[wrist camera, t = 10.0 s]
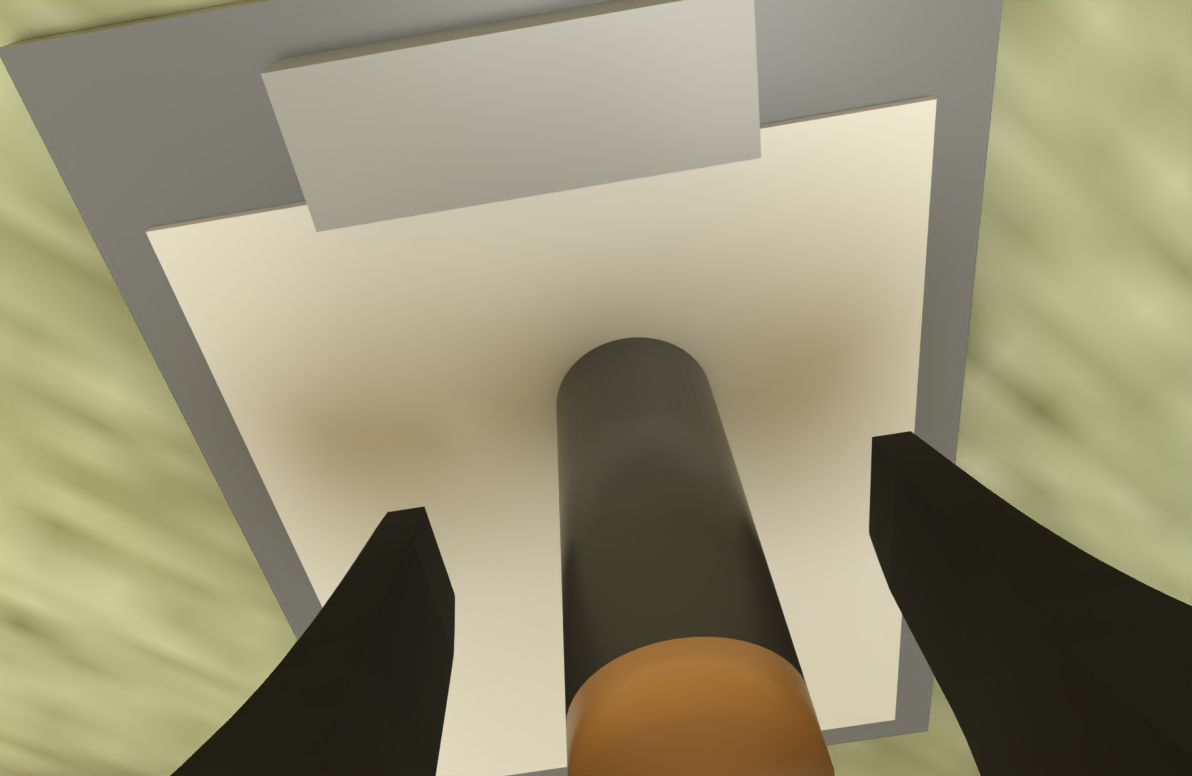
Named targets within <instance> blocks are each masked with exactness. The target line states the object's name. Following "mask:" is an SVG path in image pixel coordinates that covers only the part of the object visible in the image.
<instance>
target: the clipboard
mask: <svg viewBox="0 0 1192 776" xmlns="http://www.w3.org/2000/svg"><path fill="white" fill-rule="evenodd" d="M1002 2H1003V0H249V1H243V2H237V3H232V4H226V5H220V6H215V7H209V8H204V9H198V10H192V11H187V12H181V13H175V14H170V15H164V16H158V17H153V18H147V19H141V20H136V21H130V22H124V23H119V24H113V25H107V26H102V27H96V28H90V29H85V30H79V31H73V32H68V33H62V34H56V35H51V36H45V37H39V38H34V39H28V40H22V41H17V42H14V43H12V44H9V45H6V46H3V47H0V57H1V59H2V61H3V63H4V65H5V67H6V69H7V71H8V73H9V75H10V77H11V79H12V81H13V83H14V85H15V87H16V89H17V91H18V93H19V95H20V97H21V98H22V100H23V102H24V104H25V106H26V108H27V110H28V112H29V114H30V116H31V118H32V120H33V122H34V124H35V126H36V128H37V130H38V132H39V134H40V136H41V138H42V140H43V142H44V144H45V146H46V148H47V149H48V151H49V153H50V155H51V157H52V159H53V161H54V163H55V165H56V167H57V169H58V171H59V173H60V175H61V177H62V179H63V181H64V183H65V185H66V187H67V189H68V191H69V193H70V195H71V197H72V199H73V200H74V202H75V204H76V206H77V208H78V210H79V212H80V214H81V216H82V218H83V220H84V222H85V224H86V226H87V228H88V230H89V232H90V234H91V236H92V238H93V240H94V242H95V244H96V246H97V248H98V250H99V251H100V253H101V255H102V257H103V259H104V261H105V263H106V265H107V267H108V269H109V271H110V273H111V275H112V277H113V279H114V281H115V283H116V285H117V287H118V289H119V291H120V293H121V295H122V297H123V299H124V301H125V302H126V304H127V306H128V308H129V310H130V312H131V314H132V316H133V318H134V320H135V322H136V324H137V326H138V328H139V330H140V332H141V334H142V336H143V338H144V340H145V342H146V344H147V346H148V348H149V350H150V352H151V353H152V355H153V357H154V359H155V361H156V363H157V365H158V367H159V369H160V371H161V373H162V375H163V377H164V379H165V381H166V383H167V385H168V387H169V389H170V391H171V393H172V395H173V397H174V399H175V401H176V403H177V404H178V406H179V408H180V410H181V412H182V414H183V416H184V418H185V420H186V422H187V424H188V426H189V428H190V430H191V432H192V434H193V436H194V438H195V440H196V442H197V444H198V446H199V448H200V450H201V452H202V454H203V456H204V457H205V459H206V461H207V463H208V465H209V467H210V469H211V471H212V473H213V475H214V477H215V479H216V481H217V483H218V485H219V487H220V489H221V491H222V493H223V495H224V497H225V499H226V501H227V503H228V505H229V507H230V508H231V510H232V512H233V514H234V516H235V518H236V520H237V522H238V524H239V526H240V528H241V530H242V532H243V534H244V536H245V538H246V540H247V542H248V544H249V546H250V548H251V550H252V552H253V554H254V556H255V558H256V559H257V561H258V563H259V565H260V567H261V569H262V571H263V573H264V575H265V577H266V579H267V581H268V583H269V585H270V587H271V589H272V591H273V593H274V595H275V597H276V599H277V601H278V603H279V605H280V607H281V609H282V610H283V612H284V614H285V616H286V618H287V620H288V622H289V624H290V626H291V628H292V630H293V632H294V634H295V636H296V638H297V640H298V639H299V638H300V637H301V636H302V634H303V633H304V632H305V630H306V629H307V628H308V627H309V625H310V624H311V623H312V621H313V620H314V619H315V617H316V616H317V615H318V613H319V612H320V610H321V609H322V608H323V606H324V605H325V603H326V602H327V600H328V599H329V598H330V596H331V595H332V593H333V592H334V590H335V589H336V588H337V586H338V585H339V583H340V582H341V580H342V579H343V578H344V576H345V575H346V573H347V572H348V570H349V569H350V567H351V566H352V564H353V563H354V561H355V560H356V558H357V557H358V555H359V554H360V552H361V551H362V549H363V547H364V546H365V544H366V543H367V541H368V540H369V538H370V537H371V535H372V534H373V532H374V531H375V529H376V528H377V526H378V525H379V523H380V522H381V520H382V519H383V517H384V516H385V515H386V514H387V512H391V511H398V510H404V509H411V508H417V507H424V506H425V509H426V512H427V515H428V518H429V521H430V524H431V527H432V530H433V533H434V535H435V538H436V541H437V544H438V547H439V550H440V553H441V556H442V559H443V562H444V565H445V567H446V570H447V573H448V576H449V579H450V582H451V585H452V588H453V591H454V594H455V638H454V657H453V665H452V672H451V678H450V685H449V692H448V699H447V706H446V712H445V719H444V725H443V732H442V738H441V745H440V751H439V758H438V764H437V771H436V776H567V746H566V713H565V680H564V647H563V614H562V581H561V548H560V515H559V482H558V449H557V416H556V401H557V395H558V391H559V388H560V385H561V383H562V381H563V379H564V377H565V375H566V374H567V372H568V371H569V369H570V368H571V367H572V366H573V365H574V364H575V363H576V362H577V360H579V359H580V358H581V357H582V356H584V355H585V354H586V353H588V352H589V351H591V350H593V349H594V348H596V347H598V346H600V345H603V344H605V343H608V342H611V341H614V340H619V339H623V338H633V337H646V338H653V339H658V340H662V341H666V342H668V343H671V344H673V345H676V346H678V347H679V348H681V349H683V350H684V351H686V352H687V353H688V354H690V355H691V356H692V357H693V358H694V359H695V360H696V361H697V362H698V363H699V365H700V366H701V367H702V369H703V370H704V372H705V374H706V376H707V378H708V381H709V384H710V387H711V390H712V393H713V397H714V400H715V403H716V406H717V409H718V412H719V415H720V418H721V421H722V424H723V428H724V431H725V434H726V437H727V440H728V443H729V446H730V449H731V452H732V455H733V459H734V462H735V465H736V468H737V471H738V474H739V477H740V480H741V483H742V486H743V490H744V493H745V496H746V499H747V502H748V505H749V508H750V511H751V514H752V517H753V521H754V524H755V527H756V530H757V533H758V536H759V539H760V542H761V545H762V548H763V551H764V555H765V558H766V561H767V564H768V567H769V570H770V573H771V576H772V579H773V582H774V586H775V589H776V592H777V595H778V598H779V601H780V604H781V607H782V610H783V613H784V617H785V620H786V623H787V626H788V629H789V632H790V635H791V638H792V641H793V644H794V648H795V651H796V654H797V657H798V660H799V663H800V666H801V669H802V672H803V675H804V679H805V682H806V685H807V688H808V691H809V694H810V697H811V700H812V703H813V706H814V710H815V713H816V716H817V719H818V722H819V725H820V728H821V731H822V734H823V737H824V741H825V744H826V746H827V745H834V744H841V743H848V742H855V741H862V740H869V739H876V738H883V737H890V736H897V735H904V734H911V733H918V732H925V731H928V724H929V714H930V704H931V694H932V685H933V675H934V674H933V672H932V670H931V668H930V666H929V665H928V663H927V661H926V659H925V657H924V655H923V653H922V651H921V649H920V648H919V646H918V644H917V642H916V640H915V638H914V636H913V634H912V632H911V630H910V628H909V627H908V625H907V623H906V621H905V619H904V617H903V615H902V613H901V611H900V609H899V607H898V605H897V603H896V601H895V599H894V597H893V595H892V594H891V592H890V590H889V587H888V584H887V582H886V579H885V577H884V574H883V571H882V569H881V566H880V564H879V561H878V558H877V555H876V552H875V549H874V547H873V544H872V541H871V538H870V535H869V510H870V480H871V450H872V437H875V436H882V435H888V434H895V433H901V432H908V431H911V432H913V433H914V434H915V435H917V436H918V437H919V438H921V439H922V440H923V441H925V442H926V443H927V444H929V445H930V446H931V447H933V448H934V449H935V450H937V451H938V452H939V453H941V454H942V455H943V456H945V457H946V458H947V459H949V460H950V461H951V462H952V463H954V464H955V460H956V451H957V441H958V431H959V422H960V412H961V402H962V392H963V383H964V373H965V363H966V353H967V344H968V334H969V324H970V314H971V305H972V295H973V285H974V275H975V266H976V256H977V246H978V236H979V227H980V217H981V207H982V197H983V188H984V178H985V168H986V158H987V149H988V139H989V129H990V119H991V110H992V100H993V90H994V80H995V71H996V61H997V51H998V41H999V32H1000V22H1001V12H1002Z"/></svg>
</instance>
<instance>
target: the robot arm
mask: <svg viewBox="0 0 1192 776" xmlns="http://www.w3.org/2000/svg"><path fill="white" fill-rule="evenodd" d="M869 535H870V538H871V541H872V544H873V547H874V549H875V552H876V555H877V558H878V561H879V564H880V566H881V569H882V571H883V574H884V577H885V579H886V582H887V584H888V587H889V590H890V592H891V594H892V595H893V597H894V599H895V601H896V603H897V605H898V607H899V609H900V611H901V613H902V615H903V617H904V619H905V621H906V623H907V625H908V627H909V628H910V630H911V632H912V634H913V636H914V638H915V640H916V642H917V644H918V646H919V648H920V649H921V651H922V653H923V655H924V657H925V659H926V661H927V663H928V665H929V666H930V668H931V670H932V672H933V674H934V676H935V678H936V680H937V682H938V684H939V685H940V687H941V689H942V691H943V693H944V695H945V697H946V699H947V701H948V703H949V704H950V706H951V708H952V710H953V712H954V714H955V716H956V719H957V721H958V723H959V725H960V727H961V729H962V731H963V733H964V735H965V738H966V740H967V742H968V745H969V747H970V750H971V752H972V755H973V757H974V760H975V762H976V765H977V767H978V770H979V772H980V775H981V776H1192V606H1190V605H1188V604H1186V603H1184V602H1181V601H1179V600H1177V599H1175V598H1173V597H1170V596H1168V595H1166V594H1164V593H1162V592H1160V591H1158V590H1156V589H1154V588H1152V587H1150V586H1148V585H1146V584H1144V583H1142V582H1140V581H1138V580H1136V579H1134V578H1132V577H1130V576H1128V575H1127V574H1125V573H1123V572H1121V571H1119V570H1117V569H1115V568H1113V567H1112V566H1110V565H1108V564H1106V563H1104V562H1102V561H1100V560H1098V559H1097V558H1095V557H1093V556H1091V555H1090V554H1088V553H1086V552H1084V551H1083V550H1081V549H1079V548H1078V547H1076V546H1074V545H1073V544H1071V543H1069V542H1068V541H1066V540H1064V539H1063V538H1061V537H1060V536H1058V535H1056V534H1055V533H1053V532H1052V531H1050V530H1048V529H1047V528H1045V527H1044V526H1042V525H1040V524H1039V523H1037V522H1036V521H1034V520H1033V519H1031V518H1030V517H1028V516H1027V515H1025V514H1024V513H1022V512H1021V511H1019V510H1018V509H1016V508H1015V507H1013V506H1012V505H1010V504H1009V503H1007V502H1006V501H1005V500H1003V499H1002V498H1000V497H999V496H997V495H996V494H995V493H993V492H992V491H990V490H989V489H988V488H986V487H985V486H983V485H982V484H981V483H979V482H978V481H977V480H975V479H974V478H973V477H971V476H970V475H969V474H967V473H966V472H964V471H963V470H962V469H960V468H959V467H958V466H956V465H955V464H954V463H952V462H951V461H950V460H949V459H947V458H946V457H945V456H943V455H942V454H941V453H939V452H938V451H937V450H935V449H934V448H933V447H931V446H930V445H929V444H927V443H926V442H925V441H923V440H922V439H921V438H919V437H918V436H917V435H915V434H914V433H913V432H911V431H908V432H901V433H895V434H888V435H882V436H875V437H872V450H871V480H870V510H869ZM454 638H455V594H454V591H453V588H452V585H451V582H450V579H449V576H448V573H447V570H446V567H445V565H444V562H443V559H442V556H441V553H440V550H439V547H438V544H437V541H436V538H435V535H434V533H433V530H432V527H431V524H430V521H429V518H428V515H427V512H426V509H425V506H424V507H417V508H411V509H404V510H398V511H391V512H387V514H386V515H385V516H384V517H383V519H382V520H381V522H380V523H379V525H378V526H377V528H376V529H375V531H374V532H373V534H372V535H371V537H370V538H369V540H368V541H367V543H366V544H365V546H364V547H363V549H362V551H361V552H360V554H359V555H358V557H357V558H356V560H355V561H354V563H353V564H352V566H351V567H350V569H349V570H348V572H347V573H346V575H345V576H344V578H343V579H342V580H341V582H340V583H339V585H338V586H337V588H336V589H335V590H334V592H333V593H332V595H331V596H330V598H329V599H328V600H327V602H326V603H325V605H324V606H323V608H322V609H321V610H320V612H319V613H318V615H317V616H316V617H315V619H314V620H313V621H312V623H311V624H310V625H309V627H308V628H307V629H306V630H305V632H304V633H303V634H302V636H301V637H300V638H299V639H298V641H297V642H296V643H295V645H294V646H293V647H292V648H291V650H290V651H289V652H288V654H287V655H286V656H285V658H284V659H283V660H282V661H281V662H280V664H279V665H278V666H277V667H276V668H275V670H274V671H273V672H272V673H271V674H270V676H269V677H268V678H267V679H266V680H265V681H264V683H263V684H262V685H261V686H260V687H259V688H258V689H257V690H256V691H255V692H254V694H253V695H252V696H251V697H250V698H249V699H248V700H247V701H246V702H245V703H244V704H243V706H242V707H241V708H240V709H239V710H238V711H237V712H236V713H235V714H234V715H233V716H232V717H231V718H230V719H229V720H228V721H227V722H226V723H225V724H224V725H223V726H222V727H221V728H220V729H219V730H218V731H217V732H216V733H215V734H214V735H213V736H212V737H211V738H210V739H209V740H207V741H206V742H205V743H204V744H203V745H202V746H201V747H200V748H199V749H198V750H197V751H196V752H195V753H194V754H193V755H192V756H191V757H190V758H189V759H188V760H187V761H186V762H185V763H184V764H183V765H182V766H180V767H179V768H178V769H177V770H176V771H175V772H174V773H173V774H172V775H170V776H436V771H437V764H438V758H439V751H440V745H441V738H442V732H443V725H444V719H445V712H446V706H447V699H448V692H449V685H450V678H451V672H452V665H453V657H454Z"/></svg>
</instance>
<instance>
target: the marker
mask: <svg viewBox="0 0 1192 776" xmlns="http://www.w3.org/2000/svg"><path fill="white" fill-rule="evenodd" d="M556 416H557V449H558V482H559V515H560V548H561V581H562V614H563V647H564V680H565V713H566V746H567V776H834V768H833V765H832V762H831V759H830V756H829V753H828V750H827V747H826V744H825V741H824V737H823V734H822V731H821V728H820V725H819V722H818V719H817V716H816V713H815V710H814V706H813V703H812V700H811V697H810V694H809V691H808V688H807V685H806V682H805V679H804V675H803V672H802V669H801V666H800V663H799V660H798V657H797V654H796V651H795V648H794V644H793V641H792V638H791V635H790V632H789V629H788V626H787V623H786V620H785V617H784V613H783V610H782V607H781V604H780V601H779V598H778V595H777V592H776V589H775V586H774V582H773V579H772V576H771V573H770V570H769V567H768V564H767V561H766V558H765V555H764V551H763V548H762V545H761V542H760V539H759V536H758V533H757V530H756V527H755V524H754V521H753V517H752V514H751V511H750V508H749V505H748V502H747V499H746V496H745V493H744V490H743V486H742V483H741V480H740V477H739V474H738V471H737V468H736V465H735V462H734V459H733V455H732V452H731V449H730V446H729V443H728V440H727V437H726V434H725V431H724V428H723V424H722V421H721V418H720V415H719V412H718V409H717V406H716V403H715V400H714V397H713V393H712V390H711V387H710V384H709V381H708V378H707V376H706V374H705V372H704V370H703V369H702V367H701V366H700V365H699V363H698V362H697V361H696V360H695V359H694V358H693V357H692V356H691V355H690V354H688V353H687V352H686V351H684V350H683V349H681V348H679V347H678V346H676V345H673V344H671V343H668V342H666V341H662V340H658V339H653V338H646V337H633V338H623V339H619V340H614V341H611V342H608V343H605V344H603V345H600V346H598V347H596V348H594V349H593V350H591V351H589V352H588V353H586V354H585V355H584V356H582V357H581V358H580V359H579V360H577V362H576V363H575V364H574V365H573V366H572V367H571V368H570V369H569V371H568V372H567V374H566V375H565V377H564V379H563V381H562V383H561V385H560V388H559V391H558V395H557V401H556Z"/></svg>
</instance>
